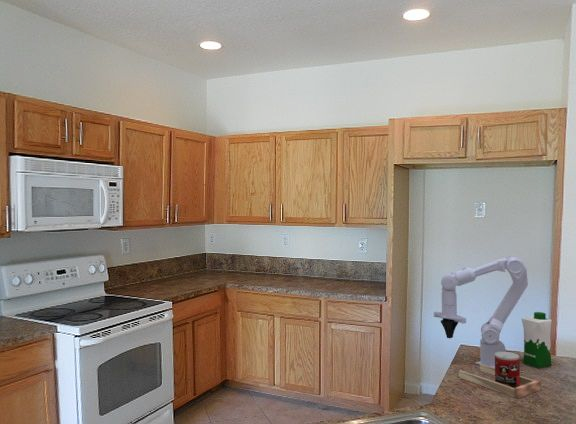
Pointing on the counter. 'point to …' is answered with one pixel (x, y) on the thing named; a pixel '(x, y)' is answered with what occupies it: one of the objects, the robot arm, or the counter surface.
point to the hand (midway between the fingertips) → (449, 337)
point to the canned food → (507, 369)
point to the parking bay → (518, 392)
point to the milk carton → (537, 340)
